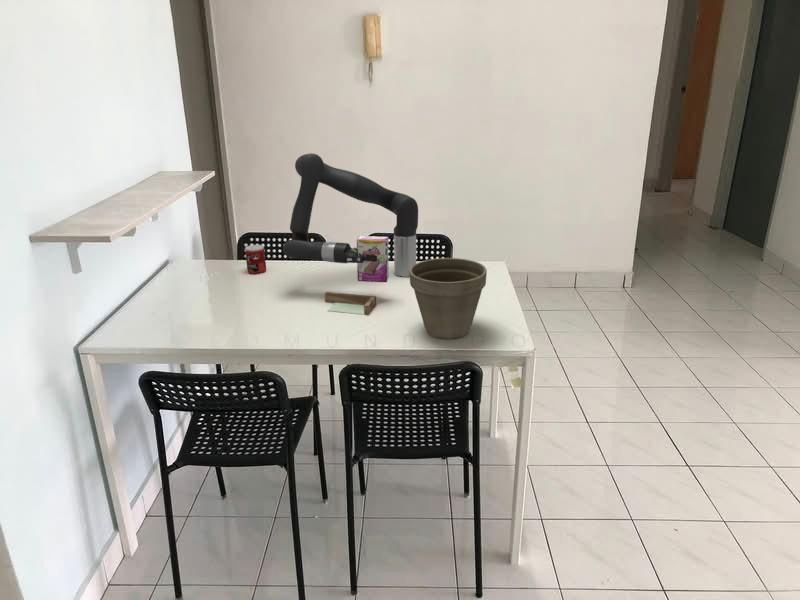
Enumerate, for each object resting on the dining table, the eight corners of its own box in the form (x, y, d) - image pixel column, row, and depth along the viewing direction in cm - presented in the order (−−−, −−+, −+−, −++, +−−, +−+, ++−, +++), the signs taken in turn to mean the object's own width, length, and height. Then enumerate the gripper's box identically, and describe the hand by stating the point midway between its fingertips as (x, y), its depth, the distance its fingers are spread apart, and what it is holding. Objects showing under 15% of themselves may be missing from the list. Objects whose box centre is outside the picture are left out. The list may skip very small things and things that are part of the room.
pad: (335, 302, 225) (335, 302, 225) (371, 306, 221) (371, 305, 221) (327, 311, 218) (327, 310, 218) (364, 314, 214) (364, 314, 214)
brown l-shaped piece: (326, 300, 227) (326, 291, 226) (376, 305, 222) (375, 296, 221) (317, 310, 219) (316, 301, 217) (368, 315, 214) (367, 305, 213)
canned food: (243, 272, 259) (241, 248, 254) (257, 267, 265) (255, 243, 261) (256, 275, 254) (253, 251, 250) (270, 270, 261) (267, 246, 256)
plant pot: (394, 332, 200) (393, 270, 192) (439, 309, 217) (440, 252, 209) (455, 353, 185) (456, 287, 177) (498, 328, 202) (501, 266, 194)
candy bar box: (357, 282, 222) (355, 239, 216) (359, 277, 227) (358, 235, 221) (387, 283, 221) (386, 240, 215) (389, 278, 226) (388, 236, 219)
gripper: (328, 248, 216) (373, 251, 212) (342, 237, 229) (385, 240, 225) (329, 268, 219) (373, 272, 215) (343, 256, 232) (385, 259, 228)
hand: (379, 256), depth 220 cm, fingers closed on candy bar box, 5 cm apart
